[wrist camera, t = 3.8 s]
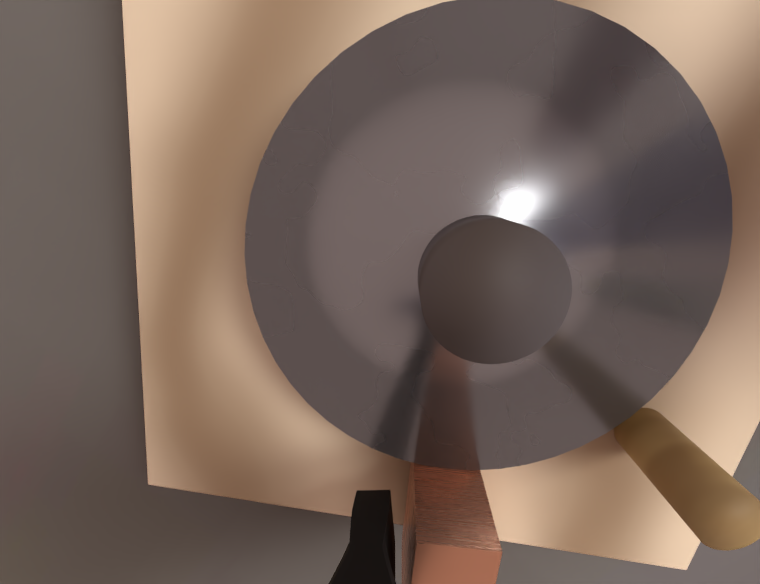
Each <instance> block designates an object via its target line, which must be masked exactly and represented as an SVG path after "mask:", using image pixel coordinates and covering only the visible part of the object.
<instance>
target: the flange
mask: <svg viewBox="0 0 760 584" xmlns="http://www.w3.org/2000/svg"><path fill="white" fill-rule="evenodd" d="M475 215H491V216H496V217H501V218H504V219H507V220H510V221H513V222H516V223H519V224H522V225H525V226H528V227H531V228H533V229H535V230H537V231H539V232H541V233H542V234H543V235H545V236H546V237H548V238H549V239H550V240H551V241H552V242H553V243H554V244H555V245H556V246H557V247H558V249H559V250H560V251H561V253H562V254H563V256H564V258H565V260H566V262H567V264H568V267H569V270H570V274H571V279H572V297H571V302H570V307H569V310H568V313H567V315H566V318H565V319H564V321H563V323H562V325H561V327H560V328H559V330H558V331H557V332H556V334H555V335H554V336H553V337H552V338H551V339H550V340H549V341H548V342H547V343H546V344H545V345H544V346H542V347H541V348H540V349H538V350H537V351H535V352H534V353H532V354H530V355H528V356H526V357H524V358H521V359H519V360H516V361H512V362H508V363H501V364H481V363H475V362H471V361H468V360H465V359H462V358H460V357H458V356H456V355H454V354H452V353H451V352H449V351H448V350H446V349H445V348H444V347H443V346H442V345H440V344H439V342H438V341H437V340H436V339H435V338H434V337H433V335H432V334H431V332H430V331H429V329H428V327H427V325H426V323H425V320H424V317H423V314H422V308H421V302H420V296H419V289H418V267H419V263H420V260H421V257H422V254H423V252H424V250H425V248H426V247H427V245H428V244H429V242H430V241H431V239H432V238H433V237H434V236H435V235H436V234H437V233H438V232H439V231H441V230H442V229H443V228H444V227H446V226H447V225H449V224H451V223H453V222H455V221H457V220H459V219H462V218H465V217H469V216H475ZM732 232H733V222H732V194H731V187H730V181H729V175H728V169H727V164H726V161H725V157H724V154H723V151H722V148H721V145H720V142H719V139H718V136H717V133H716V131H715V129H714V127H713V125H712V123H711V121H710V119H709V117H708V115H707V113H706V111H705V109H704V107H703V105H702V103H701V101H700V100H699V98H698V97H697V96H696V94H695V93H694V92H693V90H692V89H691V87H690V86H689V85H688V83H687V82H686V81H685V79H684V78H683V76H682V75H681V74H680V73H679V72H678V71H677V70H676V69H675V68H674V67H673V66H672V65H671V64H670V63H669V62H668V61H667V60H666V59H665V58H664V57H663V56H662V55H661V54H660V53H659V52H658V51H657V50H656V49H655V48H654V47H652V46H651V45H650V44H648V43H647V42H645V41H644V40H643V39H641V38H640V37H638V36H637V35H635V34H634V33H633V32H631V31H630V30H628V29H627V28H626V27H624V26H622V25H620V24H618V23H616V22H613V21H611V20H609V19H607V18H605V17H603V16H601V15H599V14H597V13H595V12H593V11H590V10H587V9H584V8H580V7H577V6H574V5H570V4H567V3H564V2H560V1H557V0H454V1H448V2H442V3H439V4H436V5H433V6H430V7H427V8H424V9H421V10H418V11H415V12H412V13H409V14H406V15H404V16H402V17H400V18H398V19H396V20H394V21H392V22H390V23H388V24H386V25H384V26H382V27H380V28H378V29H376V30H374V31H372V32H370V33H369V34H367V35H366V36H365V37H363V38H362V39H360V40H359V41H357V42H356V43H354V44H353V45H351V46H350V47H348V48H347V49H346V50H344V51H343V52H341V53H340V54H339V55H338V56H337V57H336V58H335V59H334V60H333V61H331V62H330V63H329V64H328V65H327V66H326V67H325V68H324V69H323V70H322V71H320V72H319V73H318V74H317V75H316V76H315V77H314V78H313V79H312V81H311V82H310V83H309V84H308V85H307V87H306V88H305V89H304V90H303V91H302V93H301V94H300V95H299V96H298V97H297V99H296V100H295V101H294V102H293V103H292V105H291V106H290V108H289V110H288V111H287V113H286V114H285V116H284V118H283V119H282V121H281V122H280V124H279V125H278V127H277V129H276V130H275V132H274V134H273V136H272V138H271V140H270V142H269V145H268V147H267V149H266V151H265V153H264V156H263V158H262V160H261V162H260V165H259V168H258V171H257V175H256V178H255V181H254V184H253V188H252V191H251V195H250V201H249V207H248V213H247V219H246V225H245V253H244V255H245V266H246V277H247V285H248V290H249V294H250V298H251V303H252V307H253V312H254V314H255V317H256V320H257V323H258V325H259V328H260V331H261V334H262V336H263V339H264V341H265V342H266V344H267V346H268V348H269V350H270V352H271V354H272V356H273V358H274V360H275V362H276V363H277V365H278V366H279V368H280V369H281V371H282V372H283V374H284V375H285V376H286V378H287V379H288V381H289V382H290V384H291V385H292V386H293V387H294V388H295V389H296V391H297V392H298V393H299V394H300V395H301V396H302V397H303V398H304V400H305V401H306V402H307V403H308V404H309V405H310V406H311V407H312V408H313V409H315V410H316V411H317V412H318V413H319V414H320V415H321V416H322V417H324V418H325V419H326V420H327V421H328V422H330V423H331V424H333V425H334V426H335V427H337V428H338V429H340V430H341V431H343V432H344V433H345V434H347V435H348V436H350V437H352V438H354V439H356V440H357V441H359V442H361V443H363V444H365V445H367V446H369V447H370V448H372V449H375V450H377V451H380V452H382V453H385V454H387V455H390V456H392V457H395V458H398V459H402V460H405V461H409V462H411V465H410V473H409V482H408V490H407V499H406V508H405V516H404V525H403V534H402V584H495V583H496V579H497V574H498V570H499V565H500V560H501V556H502V549H501V546H500V542H499V538H498V534H497V531H496V527H495V523H494V520H493V516H492V512H491V508H490V505H489V501H488V497H487V494H486V490H485V486H484V482H483V479H482V475H481V471H480V470H489V469H503V468H509V467H515V466H521V465H527V464H531V463H535V462H538V461H542V460H546V459H549V458H553V457H556V456H558V455H561V454H563V453H566V452H568V451H571V450H574V449H576V448H579V447H581V446H583V445H585V444H587V443H589V442H591V441H592V440H594V439H596V438H598V437H600V436H602V435H604V434H606V433H607V432H609V431H610V430H612V429H613V428H615V427H616V426H618V425H619V424H621V423H622V422H624V421H625V420H627V419H628V418H630V417H631V416H632V415H633V414H635V413H636V412H637V411H638V410H639V409H641V408H642V407H643V406H644V405H645V404H646V403H648V402H649V401H650V400H651V399H652V398H653V397H654V396H655V395H656V394H657V393H658V392H659V391H660V390H661V389H662V388H663V387H664V386H665V385H666V384H667V383H668V382H669V380H670V379H671V378H672V377H673V376H674V375H675V374H676V372H677V371H678V370H679V368H680V367H681V366H682V364H683V363H684V362H685V360H686V359H687V358H688V356H689V355H690V354H691V352H692V351H693V349H694V347H695V345H696V344H697V342H698V340H699V338H700V337H701V335H702V333H703V331H704V330H705V328H706V326H707V324H708V322H709V320H710V317H711V315H712V313H713V310H714V308H715V305H716V303H717V301H718V298H719V296H720V293H721V289H722V285H723V282H724V278H725V274H726V271H727V267H728V263H729V255H730V247H731V240H732Z"/></svg>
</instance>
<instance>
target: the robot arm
mask: <svg viewBox="0 0 760 584" xmlns="http://www.w3.org/2000/svg"><path fill="white" fill-rule="evenodd" d="M329 584H396V582H395V536H394V525H393V513H392V502H391V490H357V492H356V495H355V499H354V503H353V508H352V516H351V529H350V542H349V544H348V547H347V549H346V551H345V553H344V555H343V557H342V559H341V561H340V563H339V565H338V567H337V569H336V571H335V573H334V575H333V577H332V579H331V581H330V582H329Z"/></svg>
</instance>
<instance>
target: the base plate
mask: <svg viewBox="0 0 760 584" xmlns="http://www.w3.org/2000/svg"><path fill="white" fill-rule="evenodd" d="M448 1H454V0H122V9H123V27H124V46H125V64H126V83H127V101H128V120H129V138H130V157H131V175H132V194H133V212H134V231H135V249H136V268H137V287H138V305H139V324H140V342H141V361H142V379H143V398H144V416H145V435H146V453H147V472H148V485H155V486H161V487H167V488H173V489H180V490H186V491H192V492H199V493H205V494H211V495H218V496H224V497H230V498H236V499H243V500H249V501H255V502H262V503H268V504H274V505H280V506H287V507H293V508H299V509H306V510H312V511H318V512H325V513H331V514H337V515H343V516H350V517H351V516H352V508H353V503H354V499H355V495H356V492H357V490H391V502H392V513H393V523H394V524H400V525H404V516H405V508H406V499H407V490H408V482H409V473H410V465H411V462H409V461H405V460H402V459H398V458H395V457H392V456H390V455H387V454H385V453H382V452H380V451H377V450H375V449H372V448H370V447H369V446H367V445H365V444H363V443H361V442H359V441H357V440H356V439H354V438H352V437H350V436H348V435H347V434H345V433H344V432H343V431H341V430H340V429H338V428H337V427H335V426H334V425H333V424H331V423H330V422H328V421H327V420H326V419H325V418H324V417H322V416H321V415H320V414H319V413H318V412H317V411H316V410H315V409H313V408H312V407H311V406H310V405H309V404H308V403H307V402H306V401H305V400H304V398H303V397H302V396H301V395H300V394H299V393H298V392H297V391H296V389H295V388H294V387H293V386H292V385H291V384H290V382H289V381H288V379H287V378H286V376H285V375H284V374H283V372H282V371H281V369H280V368H279V366H278V365H277V363H276V362H275V360H274V358H273V356H272V354H271V352H270V350H269V348H268V346H267V344H266V342H265V341H264V339H263V336H262V334H261V331H260V328H259V325H258V323H257V320H256V317H255V314H254V312H253V307H252V303H251V298H250V294H249V290H248V285H247V277H246V266H245V255H244V253H245V225H246V219H247V213H248V207H249V201H250V195H251V191H252V188H253V184H254V181H255V178H256V175H257V171H258V168H259V165H260V162H261V160H262V158H263V156H264V153H265V151H266V149H267V147H268V145H269V142H270V140H271V138H272V136H273V134H274V132H275V130H276V129H277V127H278V125H279V124H280V122H281V121H282V119H283V118H284V116H285V114H286V113H287V111H288V110H289V108H290V106H291V105H292V103H293V102H294V101H295V100H296V99H297V97H298V96H299V95H300V94H301V93H302V91H303V90H304V89H305V88H306V87H307V85H308V84H309V83H310V82H311V81H312V79H313V78H314V77H315V76H316V75H317V74H318V73H319V72H320V71H322V70H323V69H324V68H325V67H326V66H327V65H328V64H329V63H330V62H331V61H333V60H334V59H335V58H336V57H337V56H338V55H339V54H340V53H341V52H343V51H344V50H346V49H347V48H348V47H350V46H351V45H353V44H354V43H356V42H357V41H359V40H360V39H362V38H363V37H365V36H366V35H367V34H369V33H370V32H372V31H374V30H376V29H378V28H380V27H382V26H384V25H386V24H388V23H390V22H392V21H394V20H396V19H398V18H400V17H402V16H404V15H406V14H409V13H412V12H415V11H418V10H421V9H424V8H427V7H430V6H433V5H436V4H439V3H442V2H448ZM557 1H560V2H564V3H567V4H570V5H574V6H577V7H580V8H584V9H587V10H590V11H593V12H595V13H597V14H599V15H601V16H603V17H605V18H607V19H609V20H611V21H613V22H616V23H618V24H620V25H622V26H624V27H626V28H627V29H628V30H630V31H631V32H633V33H634V34H635V35H637V36H638V37H640V38H641V39H643V40H644V41H645V42H647V43H648V44H650V45H651V46H652V47H654V48H655V49H656V50H657V51H658V52H659V53H660V54H661V55H662V56H663V57H664V58H665V59H666V60H667V61H668V62H669V63H670V64H671V65H672V66H673V67H674V68H675V69H676V70H677V71H678V72H679V73H680V74H681V75H682V76H683V78H684V79H685V81H686V82H687V83H688V85H689V86H690V87H691V89H692V90H693V92H694V93H695V94H696V96H697V97H698V98H699V100H700V101H701V103H702V105H703V107H704V109H705V111H706V113H707V115H708V117H709V119H710V121H711V123H712V125H713V127H714V129H715V131H716V133H717V136H718V139H719V142H720V145H721V148H722V151H723V154H724V157H725V161H726V164H727V169H728V175H729V181H730V187H731V194H732V222H733V232H732V240H731V247H730V255H729V263H728V267H727V271H726V274H725V278H724V282H723V285H722V289H721V293H720V296H719V298H718V301H717V303H716V305H715V308H714V310H713V313H712V315H711V317H710V320H709V322H708V324H707V326H706V328H705V330H704V331H703V333H702V335H701V337H700V338H699V340H698V342H697V344H696V345H695V347H694V349H693V351H692V352H691V354H690V355H689V356H688V358H687V359H686V360H685V362H684V363H683V364H682V366H681V367H680V368H679V370H678V371H677V372H676V374H675V375H674V376H673V377H672V378H671V379H670V380H669V382H668V383H667V384H666V385H665V386H664V387H663V388H662V389H661V390H660V391H659V392H658V393H657V394H656V395H655V396H654V397H653V398H652V399H651V400H650V401H649V402H648V403H646V404H645V405H644V406H643V407H642V408H641V409H639V410H638V411H637V412H636V413H635V414H633V415H632V416H631V417H630V418H628V419H627V420H625V421H624V422H622V423H621V424H619V425H618V426H616V427H615V428H613V429H612V430H610V431H609V432H607V433H606V434H604V435H602V436H600V437H598V438H596V439H594V440H592V441H591V442H589V443H587V444H585V445H583V446H581V447H579V448H576V449H574V450H571V451H568V452H566V453H563V454H561V455H558V456H556V457H553V458H549V459H546V460H542V461H538V462H535V463H531V464H527V465H521V466H515V467H509V468H503V469H489V470H480V471H481V475H482V479H483V482H484V486H485V490H486V494H487V497H488V501H489V505H490V508H491V512H492V516H493V520H494V523H495V527H496V531H497V534H498V538H499V540H501V541H507V542H513V543H520V544H526V545H532V546H538V547H545V548H551V549H557V550H564V551H570V552H576V553H583V554H589V555H595V556H601V557H608V558H614V559H620V560H627V561H633V562H639V563H645V564H652V565H658V566H664V567H671V568H677V569H683V570H687V568H688V566H689V564H690V562H691V560H692V557H693V555H694V553H695V551H696V549H697V547H698V545H699V543H700V541H701V542H702V543H703V544H705V545H706V546H708V547H710V548H713V549H717V550H735V549H739V548H743V547H746V546H748V545H750V544H752V543H753V542H755V541H756V540H758V539H759V538H760V501H759V500H758V499H757V498H756V497H754V496H753V495H752V494H751V493H750V492H749V491H748V490H747V489H745V488H744V487H743V486H742V485H741V484H740V483H739V482H737V481H736V480H735V479H734V478H733V477H732V476H733V474H734V472H735V470H736V468H737V466H738V464H739V462H740V460H741V458H742V456H743V454H744V452H745V450H746V448H747V446H748V444H749V442H750V440H751V438H752V436H753V434H754V431H755V429H756V427H757V425H758V423H759V421H760V0H557ZM418 289H419V296H420V302H421V308H422V314H423V317H424V320H425V323H426V325H427V327H428V329H429V331H430V332H431V334H432V335H433V337H434V338H435V339H436V340H437V341H438V342H439V344H440V345H442V346H443V347H444V348H445V349H446V350H448V351H449V352H451V353H452V354H454V355H456V356H458V357H460V358H462V359H465V360H468V361H471V362H475V363H481V364H501V363H508V362H512V361H516V360H519V359H521V358H524V357H526V356H528V355H530V354H532V353H534V352H535V351H537V350H538V349H540V348H541V347H542V346H544V345H545V344H546V343H547V342H548V341H549V340H550V339H551V338H552V337H553V336H554V335H555V334H556V332H557V331H558V330H559V328H560V327H561V325H562V323H563V321H564V319H565V318H566V315H567V313H568V310H569V307H570V302H571V297H572V279H571V274H570V270H569V267H568V264H567V262H566V260H565V258H564V256H563V254H562V253H561V251H560V250H559V249H558V247H557V246H556V245H555V244H554V243H553V242H552V241H551V240H550V239H549V238H548V237H546V236H545V235H543V234H542V233H541V232H539V231H537V230H535V229H533V228H531V227H528V226H525V225H522V224H519V223H516V222H513V221H510V220H507V219H504V218H501V217H496V216H491V215H475V216H469V217H465V218H462V219H459V220H457V221H455V222H453V223H451V224H449V225H447V226H446V227H444V228H443V229H442V230H441V231H439V232H438V233H437V234H436V235H435V236H434V237H433V238H432V239H431V241H430V242H429V244H428V245H427V247H426V248H425V250H424V252H423V254H422V257H421V260H420V263H419V267H418Z"/></svg>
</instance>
